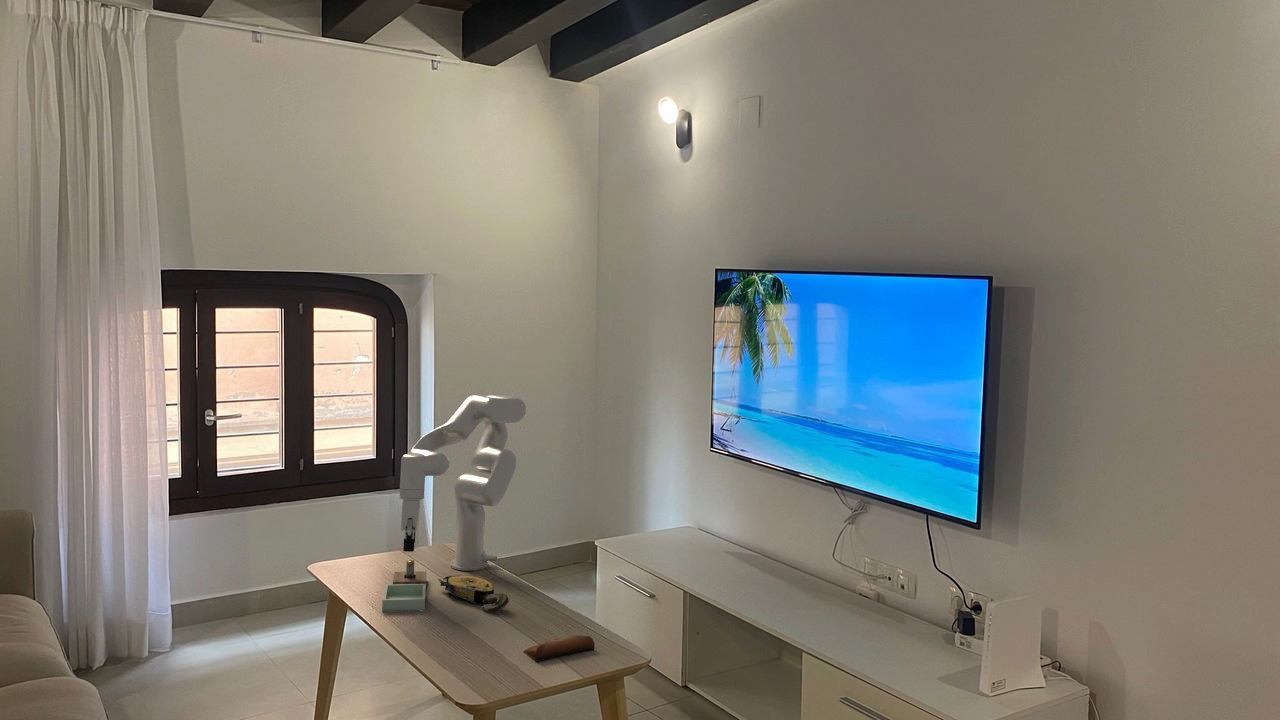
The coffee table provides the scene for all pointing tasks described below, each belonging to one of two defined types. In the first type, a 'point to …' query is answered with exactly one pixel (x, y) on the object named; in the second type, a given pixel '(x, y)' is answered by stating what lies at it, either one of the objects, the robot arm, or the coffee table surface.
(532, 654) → the sunglasses case
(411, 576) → the pin
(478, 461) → the robot arm
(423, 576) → the block
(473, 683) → the coffee table surface
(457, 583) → the pulley block
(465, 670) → the coffee table surface
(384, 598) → the tray
